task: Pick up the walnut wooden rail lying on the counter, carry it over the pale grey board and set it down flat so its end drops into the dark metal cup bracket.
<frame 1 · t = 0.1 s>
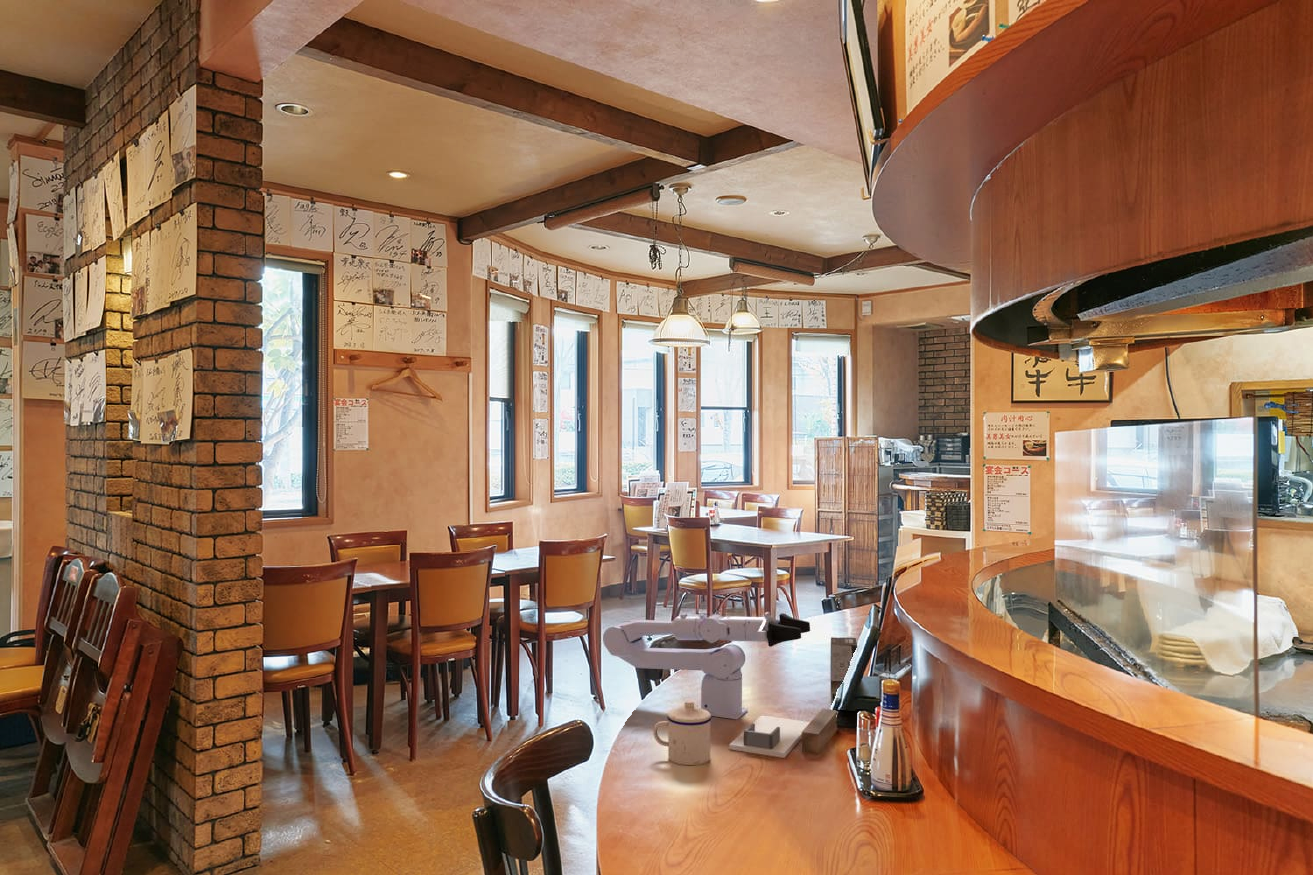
hand: (805, 630, 203), 22 cm above the bar counter, tool horizontal, fingers open, 7 cm apart
teacup with lid: (682, 758, 181), on the bar counter
coffee box: (843, 706, 218), on the bar counter
rail: (820, 741, 193), on the bar counter
cup bracket: (772, 737, 194), on the bar counter
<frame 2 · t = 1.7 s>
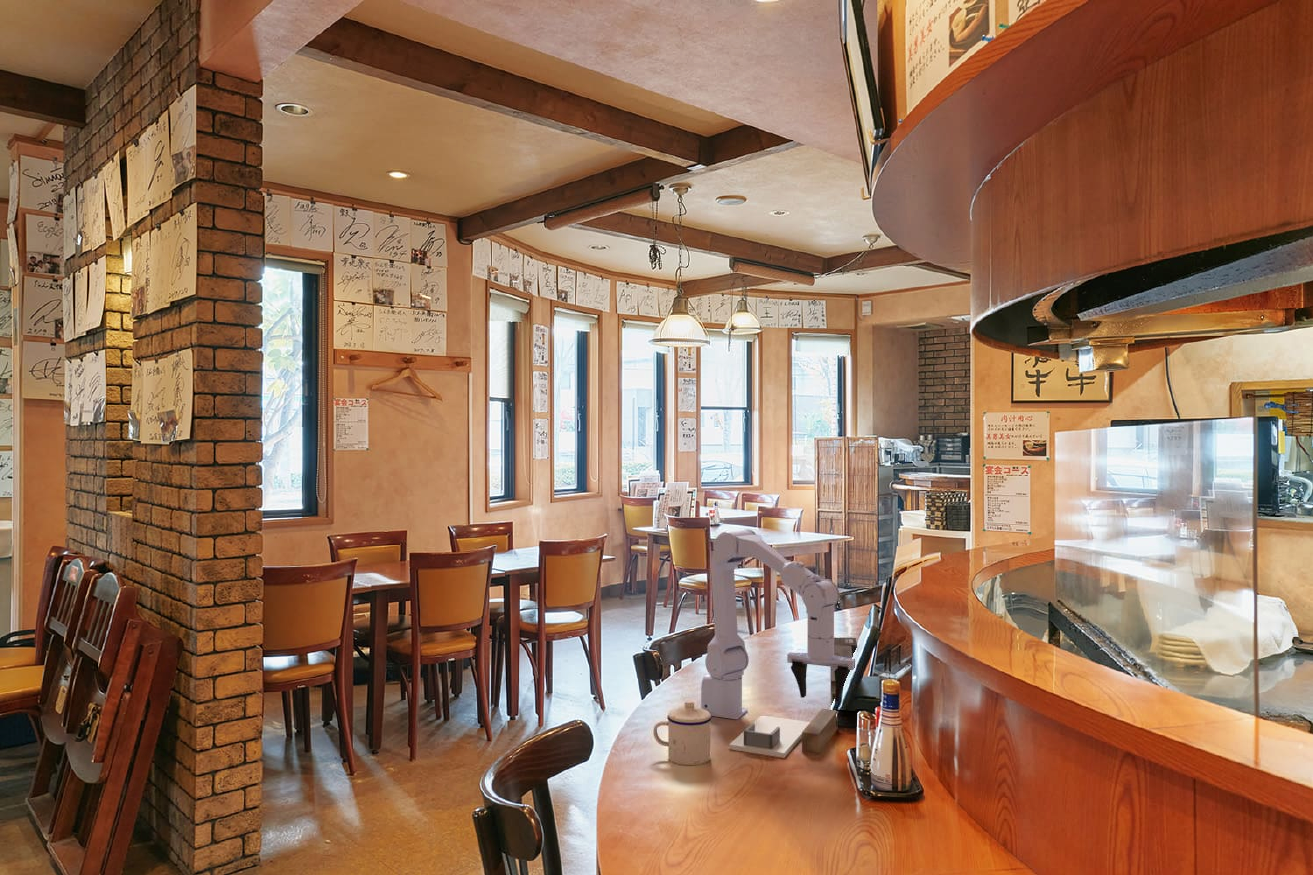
hand: (820, 698, 193), 9 cm above the bar counter, tool pointing down, fingers open, 7 cm apart
nothing on the bar counter moved.
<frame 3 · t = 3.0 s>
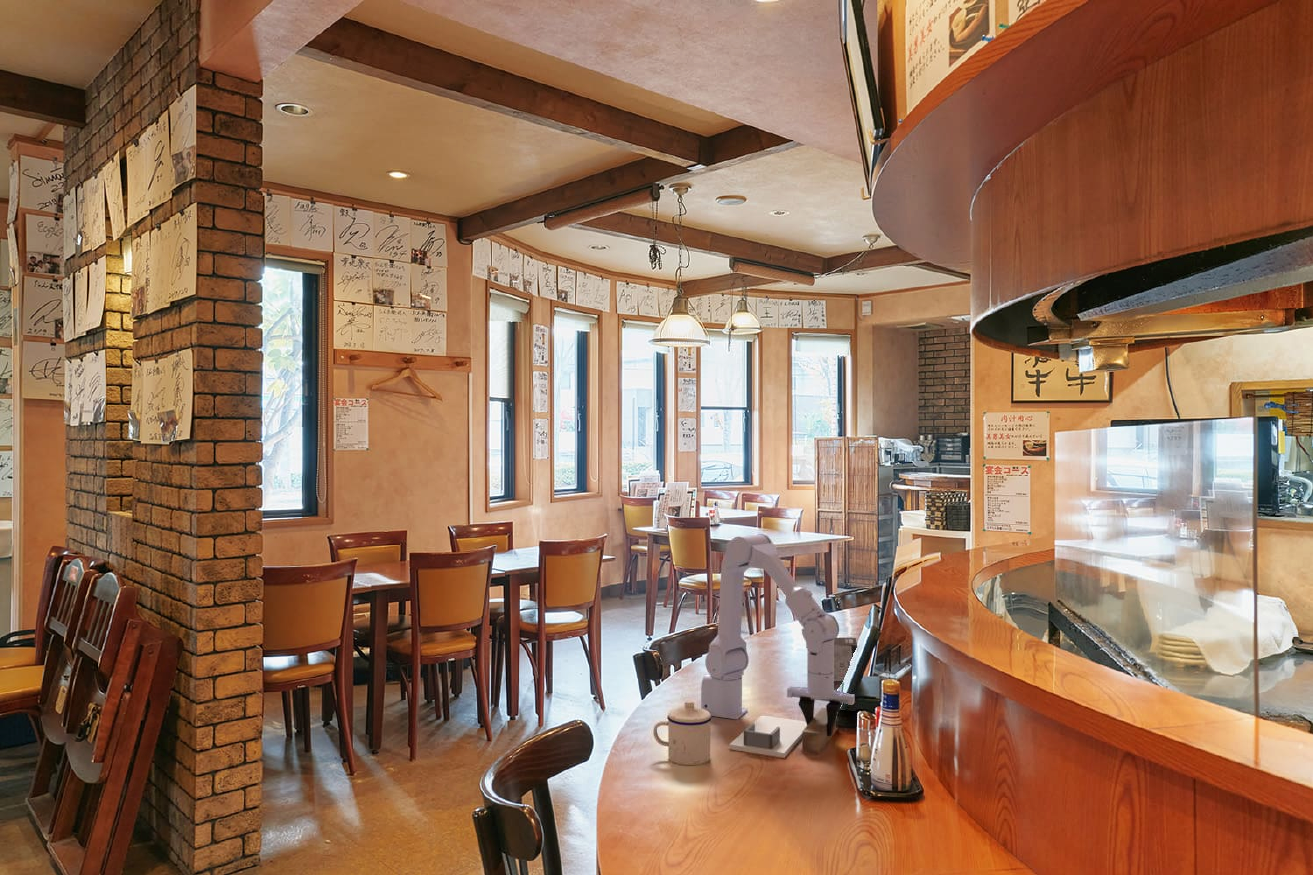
hand: (820, 733, 193), 1 cm above the bar counter, tool pointing down, fingers closed on rail, 3 cm apart
rail: (820, 740, 193), on the bar counter, touching gripper
everything else where it was.
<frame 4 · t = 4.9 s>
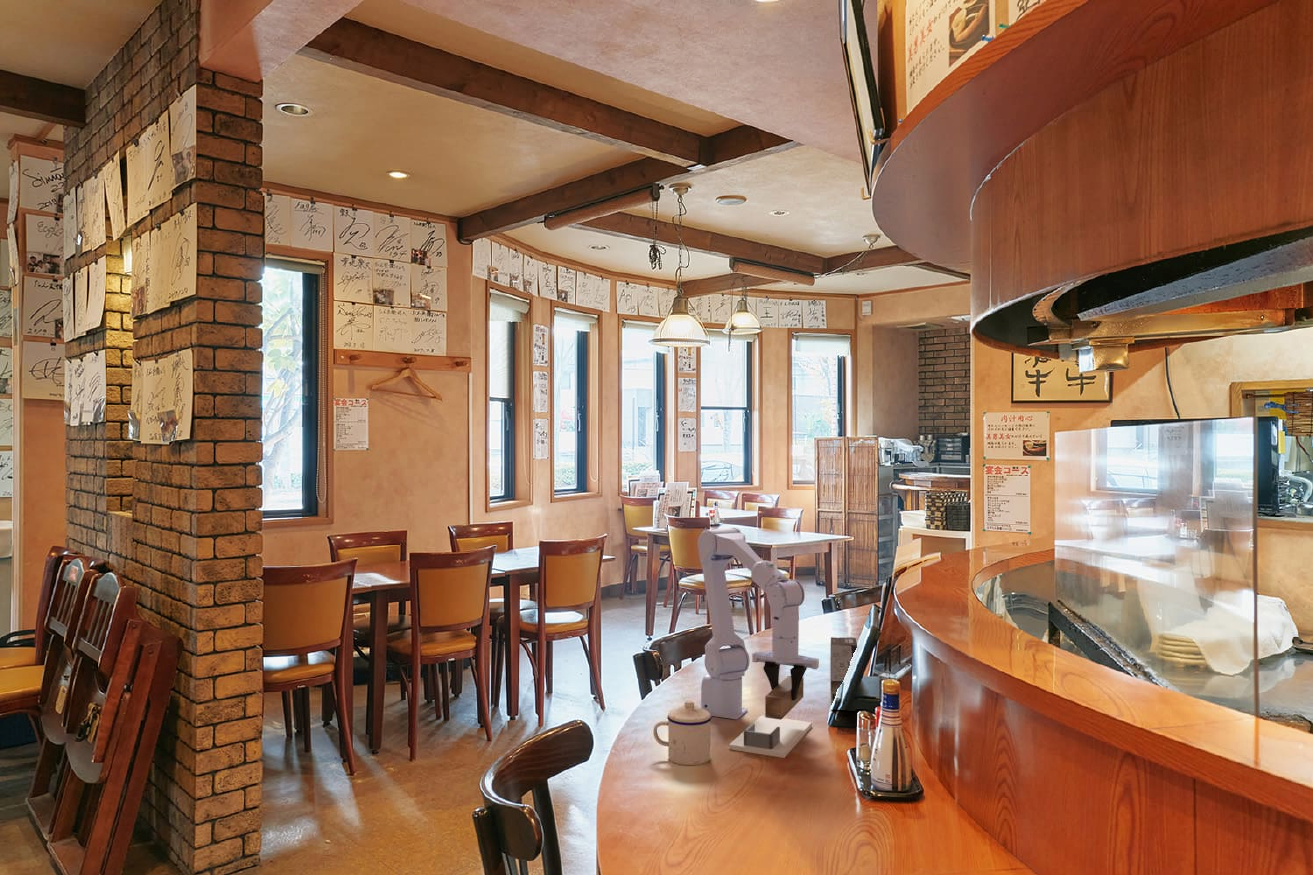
hand: (784, 697, 194), 9 cm above the bar counter, tool pointing down, fingers closed on rail, 3 cm apart
rail: (785, 706, 194), point 7 cm above the bar counter, touching gripper
everything else where it was.
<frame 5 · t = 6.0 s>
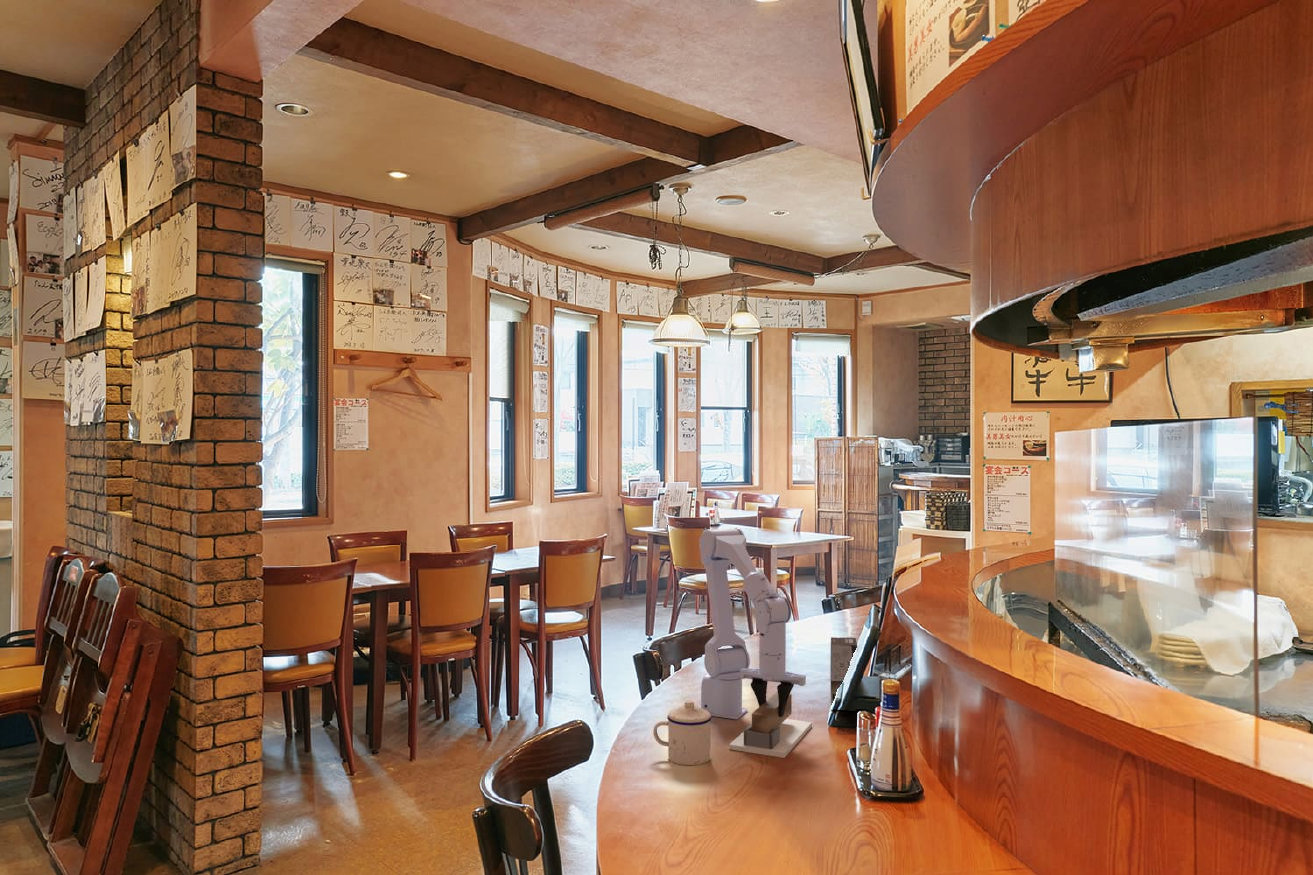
hand: (772, 714, 194), 5 cm above the bar counter, tool pointing down, fingers closed on rail, 3 cm apart
rail: (772, 723, 194), point 3 cm above the bar counter, touching gripper
everything else where it was.
when the fingers open (4 cm above the bar counter, at t = 6.7 s): rail stays where it is, resting on cup bracket.
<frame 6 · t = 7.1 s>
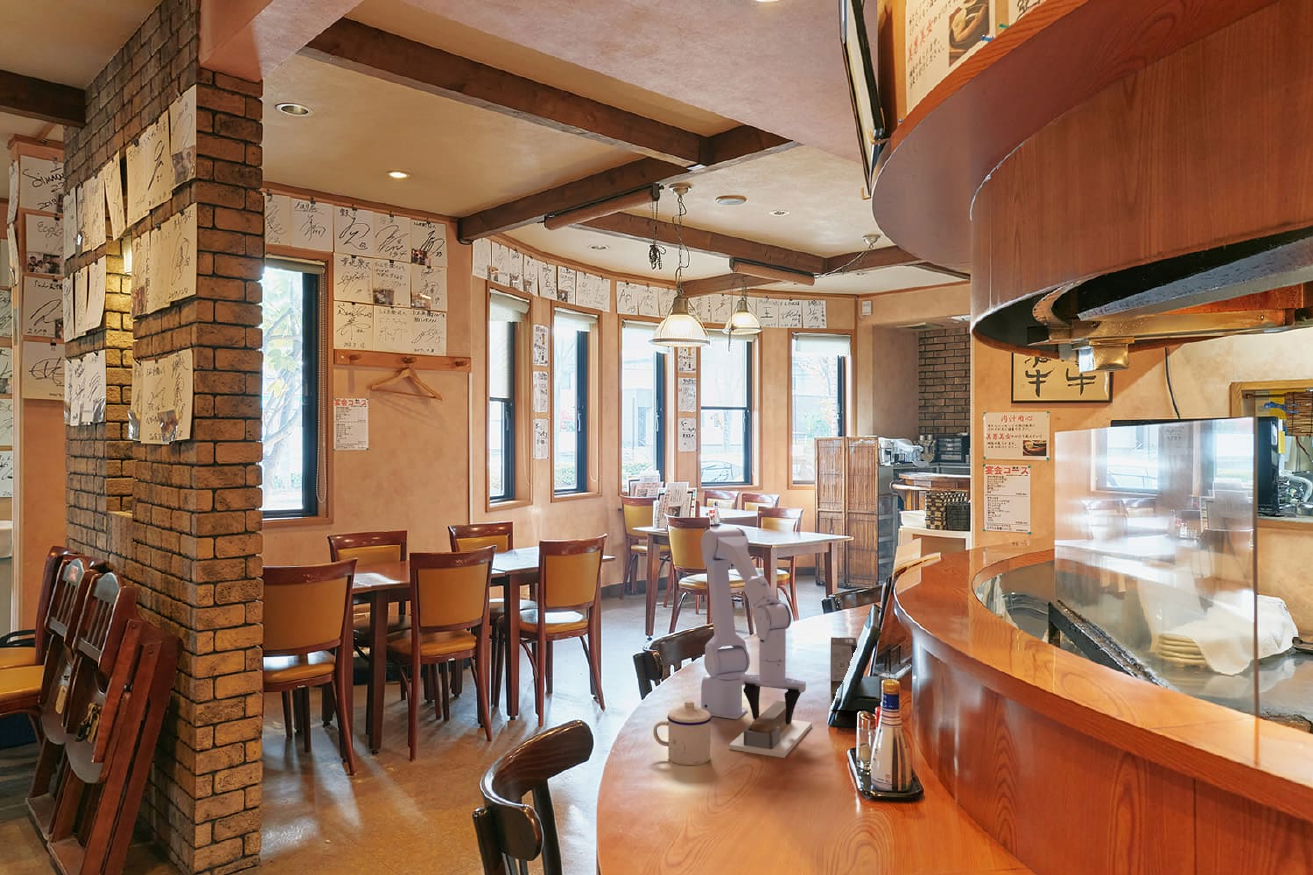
hand: (772, 720, 194), 4 cm above the bar counter, tool pointing down, fingers open, 7 cm apart
rail: (772, 732, 194), point 1 cm above the bar counter, touching cup bracket
everything else where it was.
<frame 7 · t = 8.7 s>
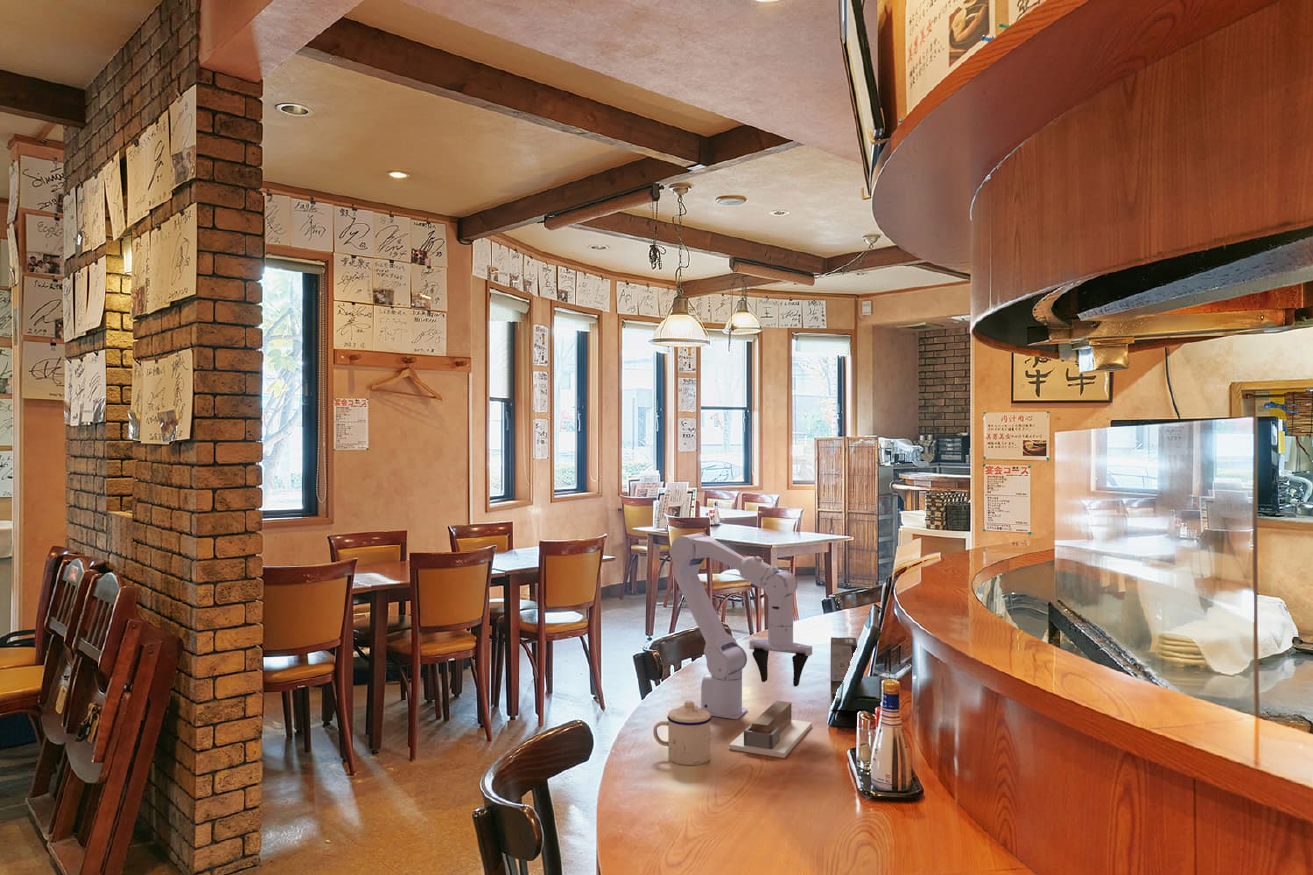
hand: (780, 683, 204), 9 cm above the bar counter, tool pointing down, fingers open, 7 cm apart
nothing on the bar counter moved.
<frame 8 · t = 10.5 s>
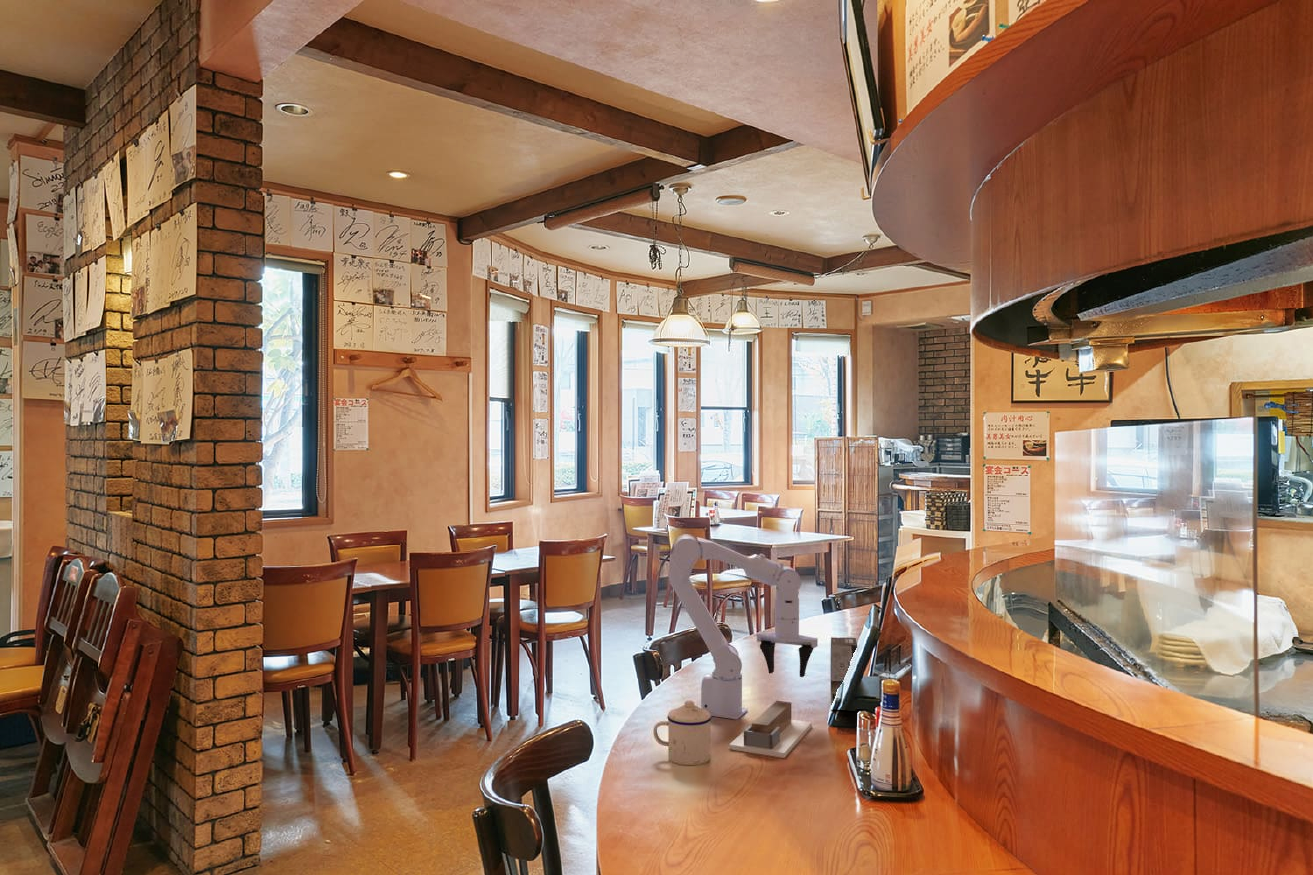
hand: (786, 674, 211), 9 cm above the bar counter, tool pointing down, fingers open, 7 cm apart
nothing on the bar counter moved.
at the end: rail 0.9 cm from the target spot on the cup bracket, point 1.0 cm above the cup bracket's base; rail tilted 0°; the gripper is holding nothing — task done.
